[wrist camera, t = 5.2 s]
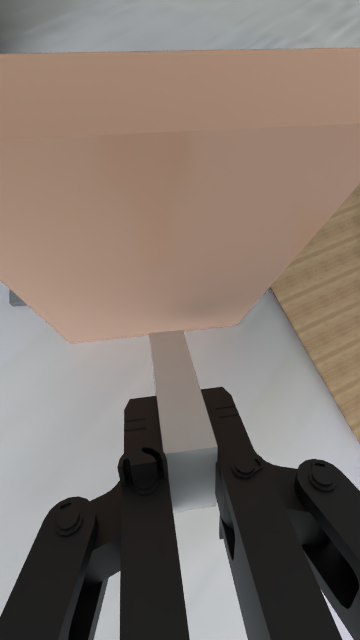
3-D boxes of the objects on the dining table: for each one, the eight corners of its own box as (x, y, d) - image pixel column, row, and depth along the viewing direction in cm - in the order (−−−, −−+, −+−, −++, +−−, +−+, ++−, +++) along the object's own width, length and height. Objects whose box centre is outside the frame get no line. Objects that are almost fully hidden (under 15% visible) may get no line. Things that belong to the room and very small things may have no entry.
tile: (70, 343, 21) (-148, 145, 6) (68, 308, 22) (-131, 48, 7) (236, 325, 22) (413, 121, 7) (230, 292, 23) (379, 41, 8)
